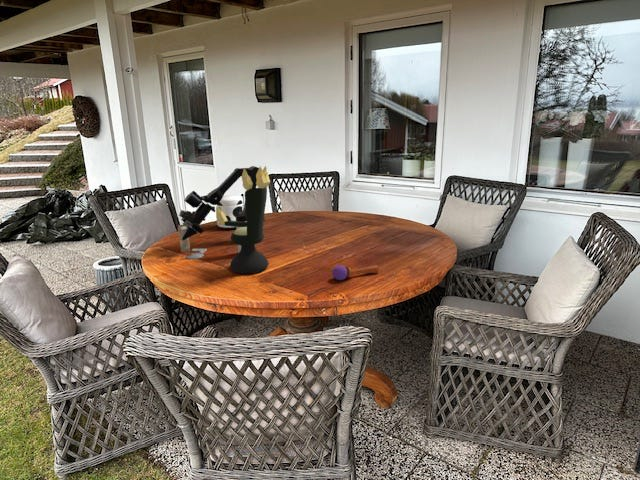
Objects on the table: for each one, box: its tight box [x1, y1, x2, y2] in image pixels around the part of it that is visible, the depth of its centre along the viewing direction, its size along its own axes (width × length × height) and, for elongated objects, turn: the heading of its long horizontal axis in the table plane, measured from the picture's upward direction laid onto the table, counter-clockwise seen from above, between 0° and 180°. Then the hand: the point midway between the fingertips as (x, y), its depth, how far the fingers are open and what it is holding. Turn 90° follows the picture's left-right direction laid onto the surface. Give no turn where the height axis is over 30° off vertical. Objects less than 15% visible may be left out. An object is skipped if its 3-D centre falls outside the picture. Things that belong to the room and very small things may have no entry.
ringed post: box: [177, 224, 191, 253], centre depth 210 cm, size 5×5×13 cm
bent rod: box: [191, 248, 208, 254], centre depth 210 cm, size 7×5×1 cm
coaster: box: [186, 252, 205, 260], centre depth 203 cm, size 8×8×1 cm
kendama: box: [332, 264, 380, 281], centre depth 172 cm, size 6×6×20 cm
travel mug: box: [235, 213, 247, 254], centre depth 202 cm, size 6×7×20 cm
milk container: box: [216, 195, 244, 230], centre depth 253 cm, size 17×17×18 cm
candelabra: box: [215, 165, 271, 275], centre depth 178 cm, size 19×22×45 cm
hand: (181, 238), depth 209 cm, fingers closed on ringed post, 4 cm apart
